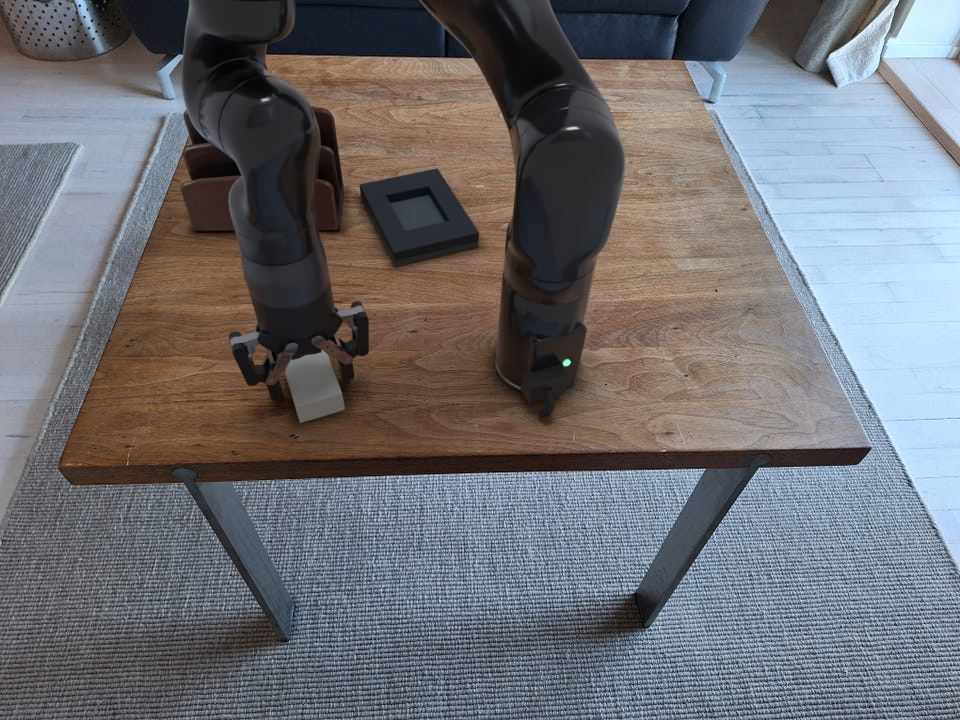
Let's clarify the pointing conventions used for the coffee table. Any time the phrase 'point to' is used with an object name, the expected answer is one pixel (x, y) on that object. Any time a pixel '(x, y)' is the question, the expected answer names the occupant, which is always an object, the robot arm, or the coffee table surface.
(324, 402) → the loose pad
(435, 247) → the back pad
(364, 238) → the coffee table surface
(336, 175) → the letter holder
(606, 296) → the coffee table surface
